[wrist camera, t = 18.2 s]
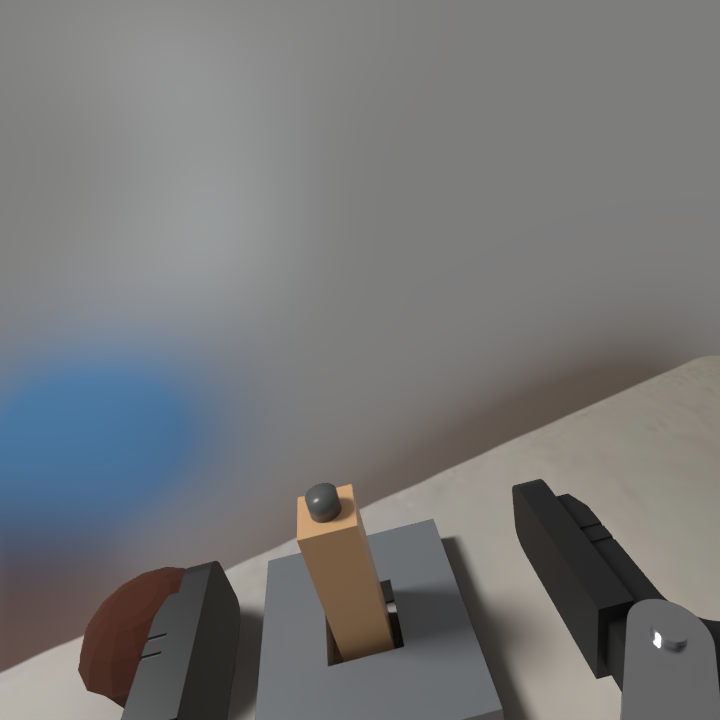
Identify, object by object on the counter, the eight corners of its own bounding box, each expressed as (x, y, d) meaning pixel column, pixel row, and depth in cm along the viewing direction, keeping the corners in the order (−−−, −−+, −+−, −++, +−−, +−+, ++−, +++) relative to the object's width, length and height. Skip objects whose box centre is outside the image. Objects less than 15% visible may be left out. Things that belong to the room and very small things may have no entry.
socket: (437, 538, 48) (433, 518, 47) (505, 731, 32) (502, 708, 31) (276, 580, 48) (268, 560, 47) (263, 795, 32) (250, 775, 30)
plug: (388, 612, 42) (347, 468, 34) (397, 659, 38) (352, 508, 30) (343, 623, 42) (292, 482, 34) (347, 672, 38) (290, 524, 30)
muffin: (247, 599, 47) (214, 531, 42) (233, 718, 37) (188, 645, 32) (137, 628, 46) (92, 563, 42) (92, 757, 36) (28, 688, 32)
